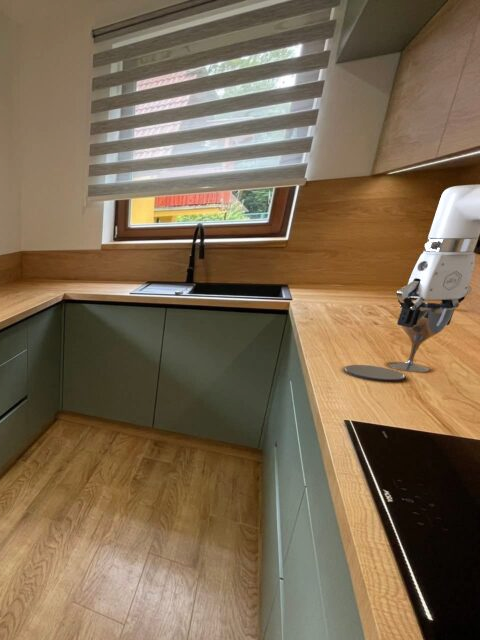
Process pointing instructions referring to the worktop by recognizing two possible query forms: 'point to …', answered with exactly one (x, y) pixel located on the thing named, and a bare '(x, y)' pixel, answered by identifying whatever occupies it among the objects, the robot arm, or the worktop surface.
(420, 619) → the worktop surface
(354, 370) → the coaster
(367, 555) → the worktop surface
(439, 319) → the wine glass
